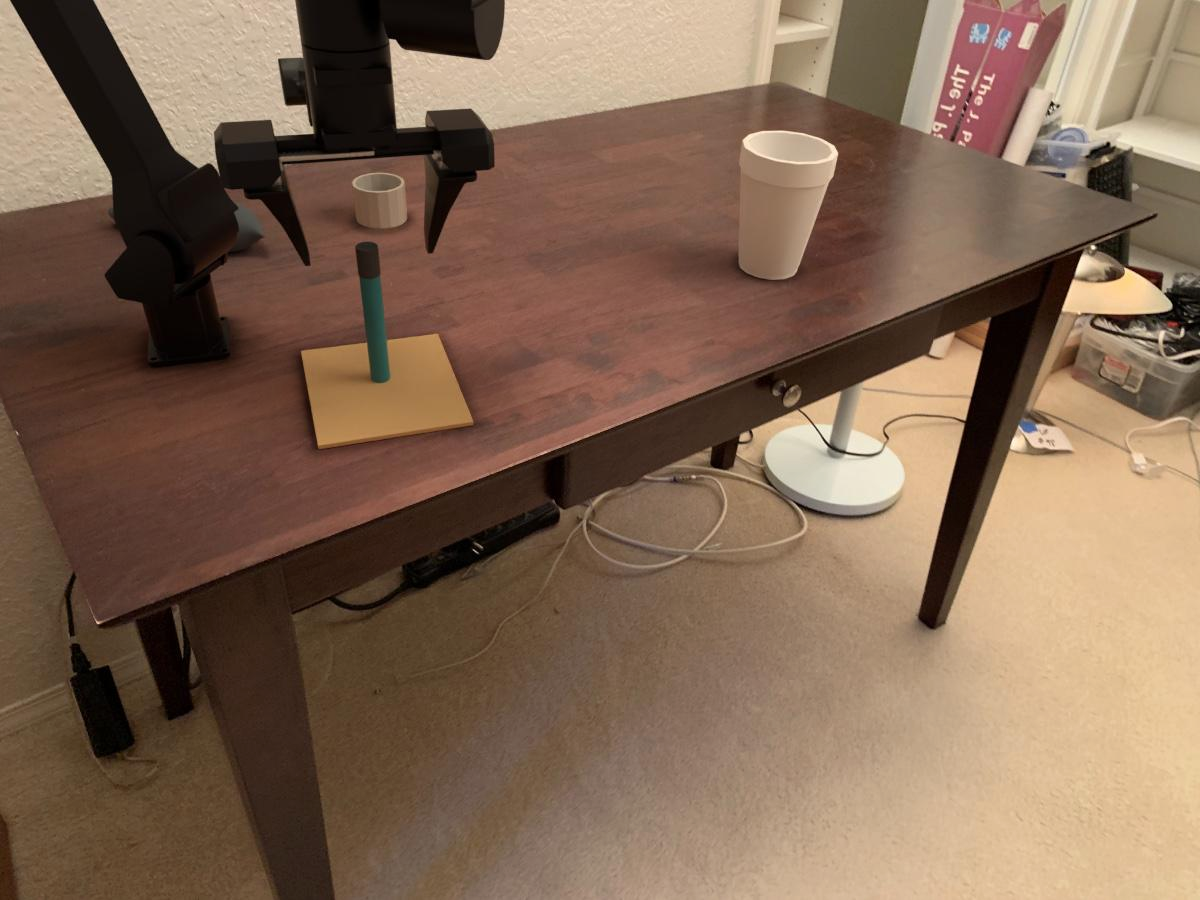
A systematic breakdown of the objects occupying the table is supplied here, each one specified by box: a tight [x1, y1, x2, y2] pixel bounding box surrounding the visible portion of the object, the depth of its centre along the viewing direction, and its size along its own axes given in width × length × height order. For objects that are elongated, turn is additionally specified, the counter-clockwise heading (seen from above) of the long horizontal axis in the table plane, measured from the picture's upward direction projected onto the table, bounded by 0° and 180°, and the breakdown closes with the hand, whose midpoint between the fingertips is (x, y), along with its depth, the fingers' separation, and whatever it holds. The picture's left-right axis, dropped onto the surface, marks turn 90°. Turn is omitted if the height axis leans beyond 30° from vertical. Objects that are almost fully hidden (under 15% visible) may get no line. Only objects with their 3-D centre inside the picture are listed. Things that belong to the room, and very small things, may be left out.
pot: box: [351, 172, 408, 230], centre depth 101 cm, size 6×6×4 cm
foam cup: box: [738, 130, 839, 281], centre depth 95 cm, size 10×9×13 cm
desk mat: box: [300, 333, 474, 450], centre depth 76 cm, size 14×12×1 cm
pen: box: [354, 241, 390, 383], centre depth 73 cm, size 2×2×12 cm
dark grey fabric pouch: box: [107, 201, 266, 253], centre depth 94 cm, size 20×5×5 cm, turn 77°
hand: (369, 257), depth 70 cm, fingers open, 9 cm apart
